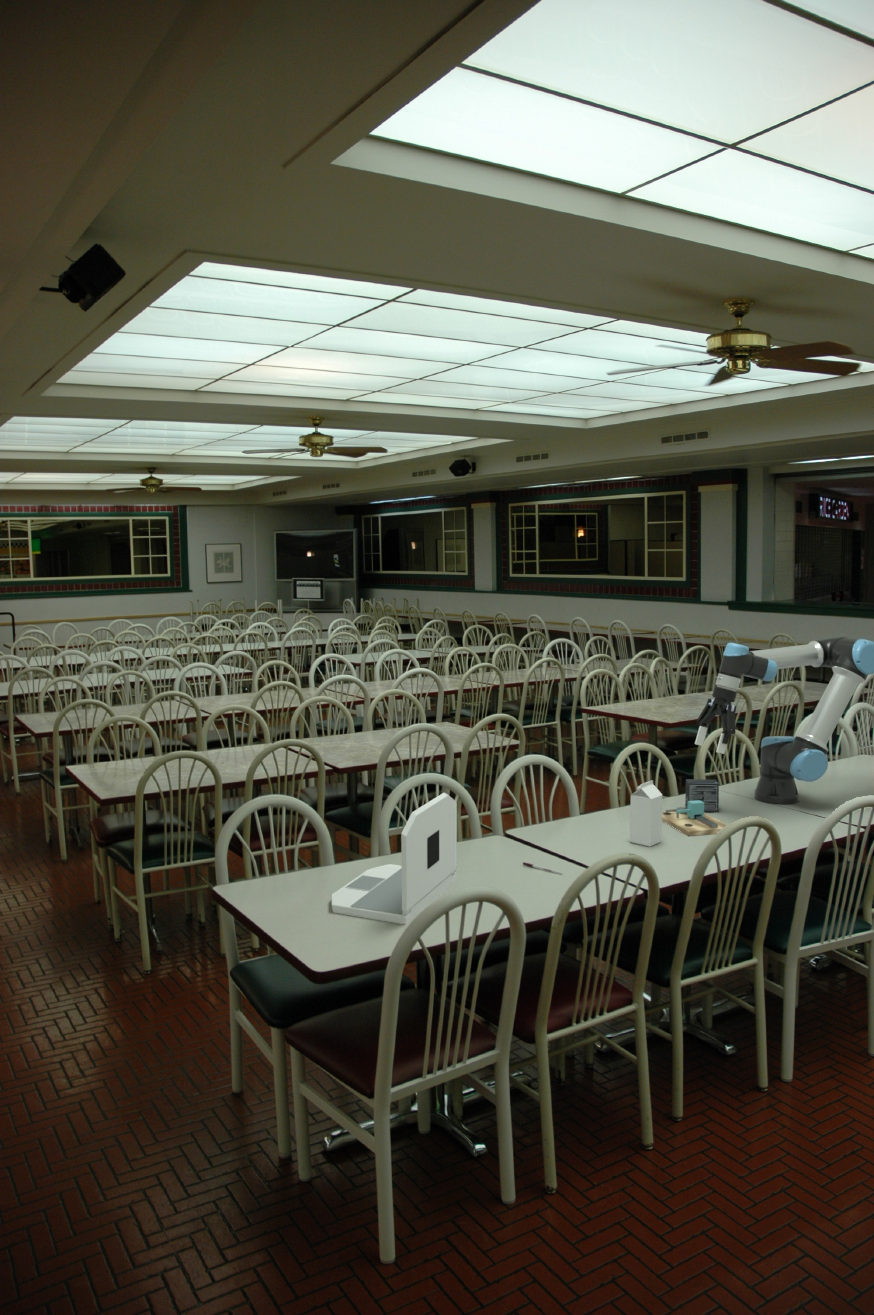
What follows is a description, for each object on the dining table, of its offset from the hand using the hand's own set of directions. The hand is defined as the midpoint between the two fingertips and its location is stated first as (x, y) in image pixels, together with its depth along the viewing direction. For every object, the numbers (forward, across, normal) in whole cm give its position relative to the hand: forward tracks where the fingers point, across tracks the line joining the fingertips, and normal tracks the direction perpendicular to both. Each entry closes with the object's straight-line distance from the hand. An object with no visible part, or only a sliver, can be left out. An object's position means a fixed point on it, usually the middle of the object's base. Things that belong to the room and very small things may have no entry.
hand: (709, 749), depth 314 cm
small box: (+22, -7, +8) cm, 25 cm away
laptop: (+55, +44, -108) cm, 129 cm away
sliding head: (+23, +6, -4) cm, 24 cm away
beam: (+24, +8, -4) cm, 25 cm away
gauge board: (+25, +8, -3) cm, 26 cm away
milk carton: (+32, +21, -26) cm, 46 cm away
